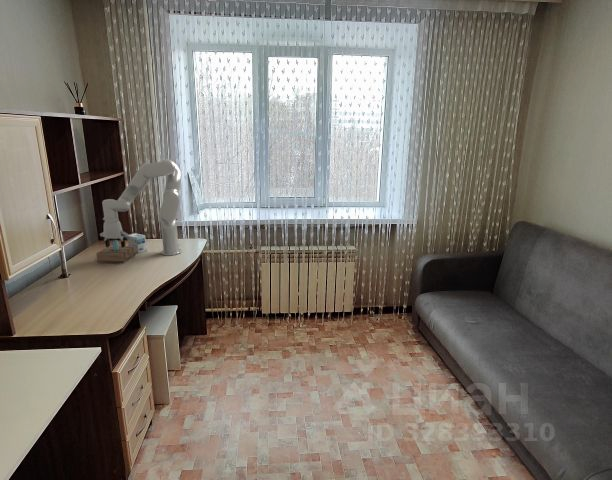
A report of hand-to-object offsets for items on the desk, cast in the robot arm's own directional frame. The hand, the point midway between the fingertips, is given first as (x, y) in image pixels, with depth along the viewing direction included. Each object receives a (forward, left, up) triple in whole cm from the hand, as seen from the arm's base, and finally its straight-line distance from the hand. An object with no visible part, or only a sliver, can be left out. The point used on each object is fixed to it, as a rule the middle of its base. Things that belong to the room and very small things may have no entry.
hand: (115, 246), depth 246 cm
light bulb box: (-17, +5, -8) cm, 20 cm away
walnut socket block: (0, 0, -8) cm, 8 cm away
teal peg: (0, 0, -6) cm, 6 cm away
